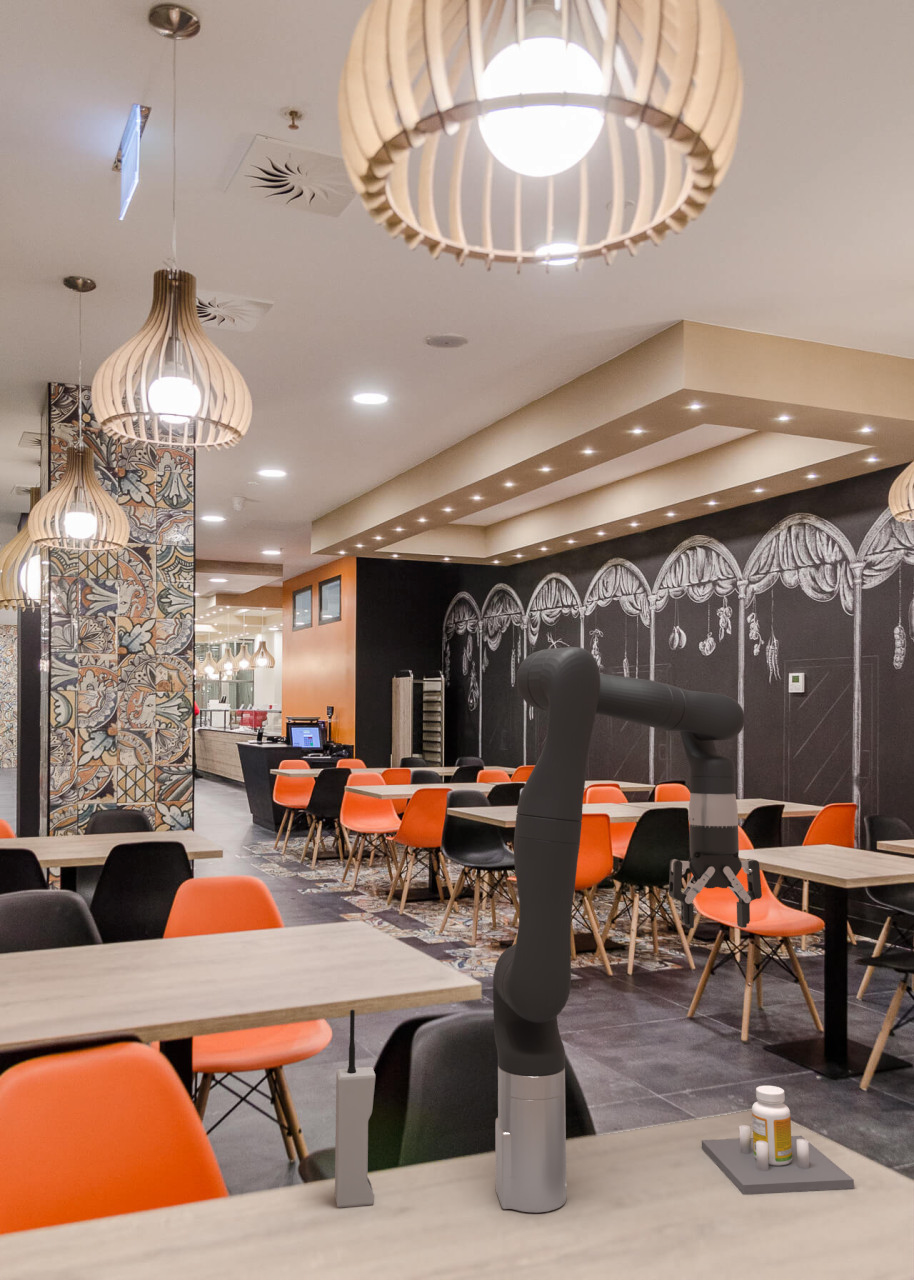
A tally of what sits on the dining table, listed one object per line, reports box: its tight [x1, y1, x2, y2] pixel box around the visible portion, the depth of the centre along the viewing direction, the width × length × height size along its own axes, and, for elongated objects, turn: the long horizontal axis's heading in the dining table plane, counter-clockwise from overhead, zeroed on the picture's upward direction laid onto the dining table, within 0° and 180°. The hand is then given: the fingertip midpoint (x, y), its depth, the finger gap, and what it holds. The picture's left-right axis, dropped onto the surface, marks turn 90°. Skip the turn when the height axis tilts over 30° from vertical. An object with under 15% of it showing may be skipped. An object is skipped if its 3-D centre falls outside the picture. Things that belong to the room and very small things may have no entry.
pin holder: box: [701, 1124, 855, 1195], centre depth 146 cm, size 16×16×5 cm
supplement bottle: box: [751, 1085, 792, 1166], centre depth 146 cm, size 5×5×10 cm
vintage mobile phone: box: [334, 1009, 377, 1209], centre depth 136 cm, size 4×5×25 cm
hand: (715, 927), depth 156 cm, fingers open, 8 cm apart
